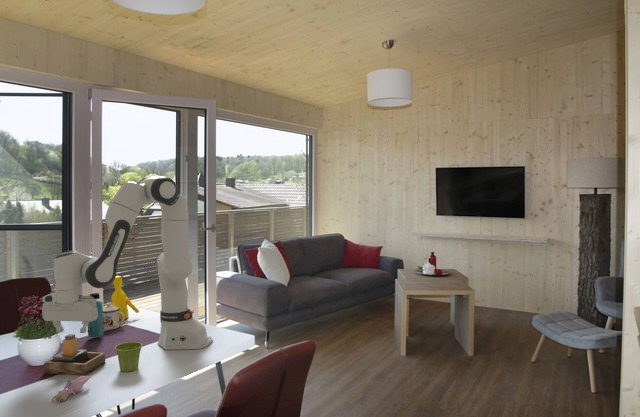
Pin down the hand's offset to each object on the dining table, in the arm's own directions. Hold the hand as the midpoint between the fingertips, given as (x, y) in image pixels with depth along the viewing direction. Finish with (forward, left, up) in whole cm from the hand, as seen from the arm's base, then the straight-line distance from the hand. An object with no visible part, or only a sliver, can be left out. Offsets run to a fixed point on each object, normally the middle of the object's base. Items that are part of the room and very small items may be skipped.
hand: (71, 332), depth 177 cm
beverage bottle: (+11, -32, -13) cm, 36 cm away
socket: (0, 0, -13) cm, 13 cm away
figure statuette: (+17, -62, -13) cm, 65 cm away
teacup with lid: (+13, -48, -13) cm, 51 cm away
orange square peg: (0, 0, -12) cm, 12 cm away
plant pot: (-22, -2, -13) cm, 26 cm away
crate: (-2, 0, -13) cm, 13 cm away
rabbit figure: (-15, +20, -14) cm, 28 cm away
